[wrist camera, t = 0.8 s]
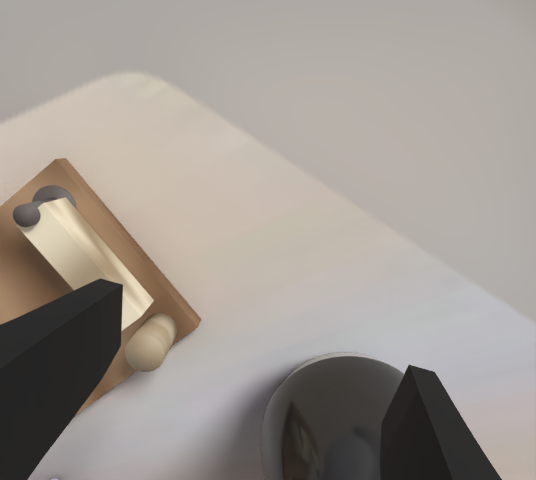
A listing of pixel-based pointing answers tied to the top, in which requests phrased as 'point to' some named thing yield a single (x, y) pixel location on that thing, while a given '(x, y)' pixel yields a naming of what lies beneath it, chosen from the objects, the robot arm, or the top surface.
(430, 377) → the robot arm
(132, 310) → the hinged leg
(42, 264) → the stool seat
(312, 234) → the top surface
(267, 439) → the dark grey tapered dome
